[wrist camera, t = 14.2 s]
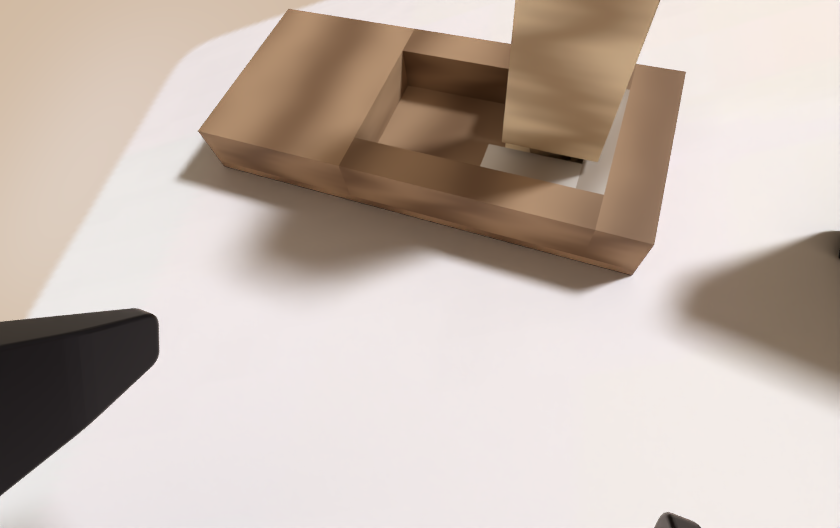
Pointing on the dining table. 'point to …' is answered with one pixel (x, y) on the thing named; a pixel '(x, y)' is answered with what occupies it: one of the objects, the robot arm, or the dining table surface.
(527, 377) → the dining table surface
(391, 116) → the keyhole board
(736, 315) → the dining table surface
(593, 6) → the peg
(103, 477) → the dining table surface
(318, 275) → the dining table surface
